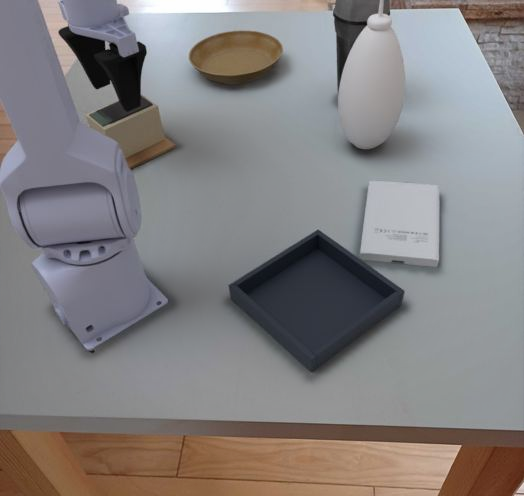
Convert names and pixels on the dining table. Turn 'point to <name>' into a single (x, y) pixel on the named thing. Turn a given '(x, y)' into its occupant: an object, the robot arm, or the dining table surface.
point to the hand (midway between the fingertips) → (117, 96)
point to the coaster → (149, 153)
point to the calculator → (129, 125)
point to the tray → (315, 298)
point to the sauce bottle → (372, 84)
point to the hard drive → (401, 223)
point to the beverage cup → (352, 25)
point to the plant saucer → (236, 56)
